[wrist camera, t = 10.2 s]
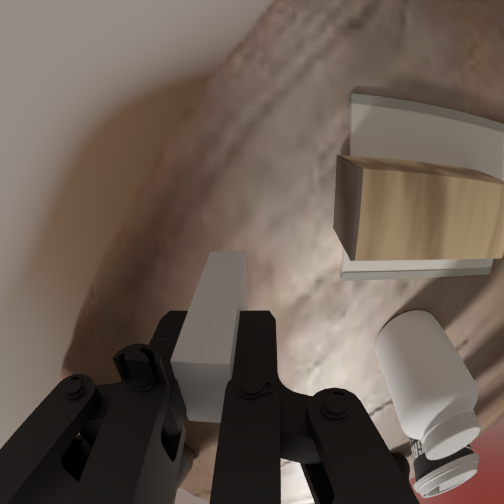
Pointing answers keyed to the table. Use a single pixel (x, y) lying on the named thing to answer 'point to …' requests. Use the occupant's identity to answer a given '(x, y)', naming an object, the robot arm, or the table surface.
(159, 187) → the table surface
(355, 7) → the table surface
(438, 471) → the coffee cup
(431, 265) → the shallow grey tray
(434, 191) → the oak block
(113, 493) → the robot arm
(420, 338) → the pill bottle
